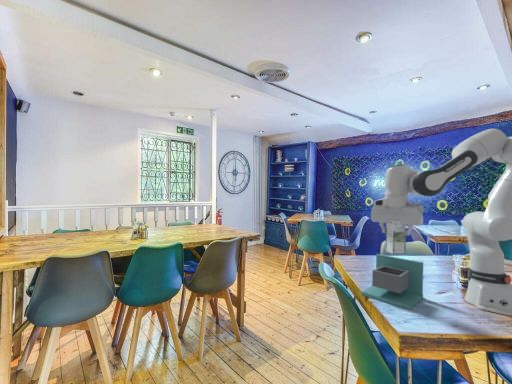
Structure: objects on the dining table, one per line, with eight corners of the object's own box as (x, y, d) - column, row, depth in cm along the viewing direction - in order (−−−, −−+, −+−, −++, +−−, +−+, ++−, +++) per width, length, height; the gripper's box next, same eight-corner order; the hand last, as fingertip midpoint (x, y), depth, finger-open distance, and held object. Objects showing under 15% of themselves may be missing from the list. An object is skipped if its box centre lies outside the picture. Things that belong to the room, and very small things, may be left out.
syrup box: (398, 251, 118) (398, 218, 118) (406, 254, 112) (406, 220, 112) (385, 251, 118) (385, 218, 118) (393, 254, 112) (393, 220, 112)
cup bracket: (423, 297, 119) (423, 262, 119) (410, 309, 107) (410, 270, 107) (377, 285, 134) (378, 253, 134) (361, 294, 121) (362, 260, 121)
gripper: (425, 202, 110) (425, 236, 110) (375, 201, 125) (374, 230, 125) (421, 203, 105) (420, 238, 106) (369, 201, 120) (369, 231, 120)
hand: (395, 234), depth 115 cm, fingers closed on syrup box, 8 cm apart
